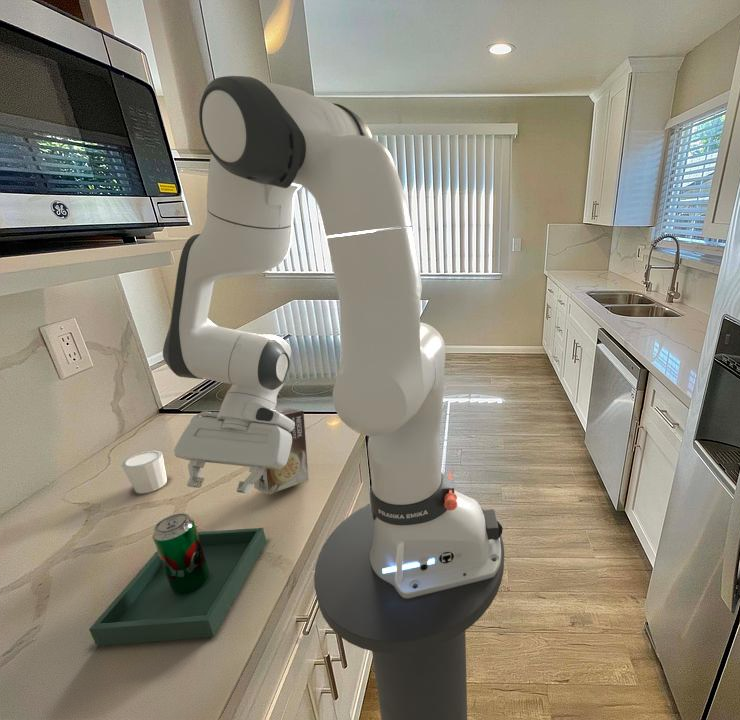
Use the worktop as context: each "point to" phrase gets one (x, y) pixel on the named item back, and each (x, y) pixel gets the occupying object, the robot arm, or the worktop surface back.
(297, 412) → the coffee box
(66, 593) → the worktop surface
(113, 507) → the worktop surface
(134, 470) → the white cup
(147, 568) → the tray
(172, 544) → the soda can
